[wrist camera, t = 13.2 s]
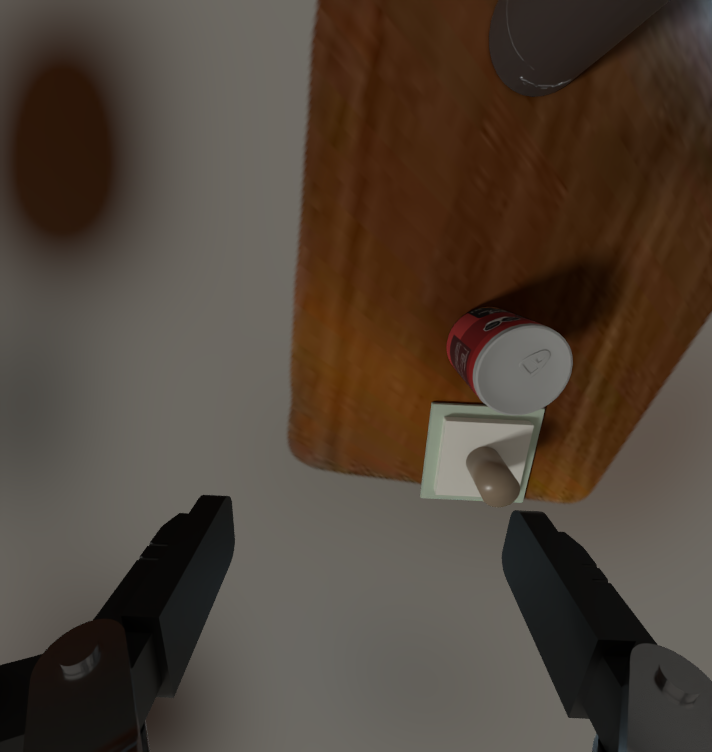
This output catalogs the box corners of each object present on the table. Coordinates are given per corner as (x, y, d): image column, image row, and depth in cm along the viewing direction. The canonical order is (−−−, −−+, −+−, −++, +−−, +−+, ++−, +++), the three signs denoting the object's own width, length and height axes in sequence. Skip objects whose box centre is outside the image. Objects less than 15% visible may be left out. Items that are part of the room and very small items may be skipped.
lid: (443, 416, 41) (459, 446, 35) (529, 420, 42) (560, 451, 35) (433, 488, 45) (446, 528, 38) (512, 492, 45) (538, 532, 38)
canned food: (531, 328, 39) (594, 355, 28) (485, 387, 41) (529, 432, 30) (474, 291, 37) (518, 305, 27) (430, 354, 40) (456, 389, 29)
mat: (431, 402, 41) (432, 403, 41) (542, 407, 41) (544, 409, 41) (420, 495, 46) (420, 498, 45) (521, 500, 46) (522, 502, 45)
